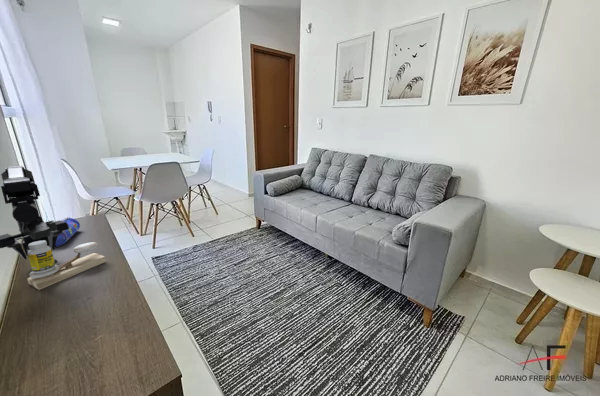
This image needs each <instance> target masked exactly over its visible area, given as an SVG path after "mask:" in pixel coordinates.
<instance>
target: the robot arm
mask: <svg viewBox="0 0 600 396" xmlns="http://www.w3.org/2000/svg"><path fill="white" fill-rule="evenodd" d="M0 176H1V180H2V184H0V188H1V192H2V196H3V200H4V203H5V205H7V204H11V207H12V213H11V214H12V217H13V219H14V220H15V221H16V222H17V225H18V231H19V233H17V234H13V235H11V234H9V233H5V234H0V249H4V248H7V249H13V250H14V251H15V252H16V254H18V255H20V257H21V258H23V259H24V260H28V259H27V257H28V251H29V250H30V249H29V246H28V244H30V243H32V242H36V241H42V240H45V241H46V242H47V245H46V246H49V247H51V250H52V251H54V250H55V248H56V245H55V244H56V240H57V237H58V235H59V234H60V233H63V231H64V230H67V229H69V225H68V223H66V222H63V221H61V220H53V219H52V220H48V221H44V220H43V218H42V216H41V215H40V212H39V210H38V209H39V208H38V205H37V202H36V200H39V197H40V196H41V194H40V191H39V187H38V185H37V183H36V182H35V181H36V180H35V178H34V175H33V172H32V171H31V170H28V169H27V168H25V166H24V165H23V166H22V165H14V166H7V167H4V171H3V172H2V173H1V175H0ZM18 240H23V241H22V242H21V243H20V242H18ZM54 262H55V263H57V262H58V260H57V259H56V258H54Z"/></svg>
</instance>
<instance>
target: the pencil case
mask: <svg viewBox="0 0 600 396" xmlns="http://www.w3.org/2000/svg"><path fill="white" fill-rule="evenodd" d="M60 221H63V222H66V223H68V225H69V229H67V230H64V231H63V233H60V234H59V235H58V237H57V240H56V244H55V245H56V247H61V246H64V245H65V244H66V242H68V240H70V239H71V237H73V236H74V235H75V234H76V233H77V231H78V230H80V228H81V223H80V222H79V221H78V220H77V219H76V218H73V217H68V216H67V217H65V218H63V219H61V220H60ZM56 247H55V248H56Z"/></svg>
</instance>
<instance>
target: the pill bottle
mask: <svg viewBox="0 0 600 396" xmlns="http://www.w3.org/2000/svg"><path fill="white" fill-rule="evenodd" d="M46 245H47V242H46V241H45V240H42V241H36V242H32V243H30V244H28V246H29V249H30V250H29V251H28V256H27V257H28V261H29V264H30V268H31V272H33V273H44V272H47V271H50V270H52V269H54V268H55V265H56V262H54V259H55V258H54V254H53V250H52V249H51V247H49V246H46Z"/></svg>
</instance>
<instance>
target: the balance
mask: <svg viewBox="0 0 600 396" xmlns="http://www.w3.org/2000/svg"><path fill="white" fill-rule="evenodd" d="M98 247H99V243H98V242H94V241H93V242H92V241H91V242H84V243H81V244H79V245H76V246H74V248H72V249H73V252H74V253H76V254H77V255H75V256H74V257H72V258H70V259H69V260H67V261H65V262H64V263H62V264H60V265H59V264H55V268H54V269H52V270H50V271H47V272H44V273H33V272H32V271H31V272H30V273H29V277H27V282H28V284H29V285H30V286H31V287H33V288H35V289H37V290H39V291H40V290H43V289H44V288H47V287H49V286H52V285H54V284H56V283H59V282H60V281H64V280H66V279H68V278H71V277H73V276H75V275H78V274H80V273H82V272H85V271H88V270H89V269H92V268H94V267H97V266H99V265H102V264H104V263H106V262H107V260H106V256H104V255H101V254H100V253H96V252H93V253H90V254H87V255H84V256H82V257H81V255H82V254H81V253H86V252H87V253H88V252H91V251H93V250H95V249H97V248H98Z"/></svg>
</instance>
